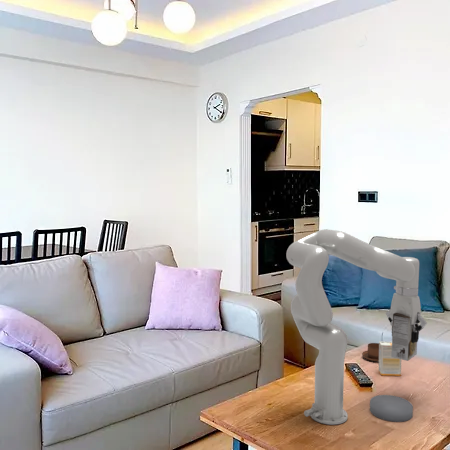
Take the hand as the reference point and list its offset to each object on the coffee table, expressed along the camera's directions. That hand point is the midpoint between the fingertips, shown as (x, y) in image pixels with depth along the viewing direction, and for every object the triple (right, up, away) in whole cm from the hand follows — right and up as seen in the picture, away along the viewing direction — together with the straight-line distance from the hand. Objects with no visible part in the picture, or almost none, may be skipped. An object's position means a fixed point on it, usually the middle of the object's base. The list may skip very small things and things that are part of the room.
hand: (404, 338), depth 179 cm
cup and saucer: (+2, -19, +42) cm, 46 cm away
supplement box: (+2, -20, +24) cm, 32 cm away
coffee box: (0, -7, +1) cm, 7 cm away
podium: (-8, -23, -10) cm, 26 cm away
